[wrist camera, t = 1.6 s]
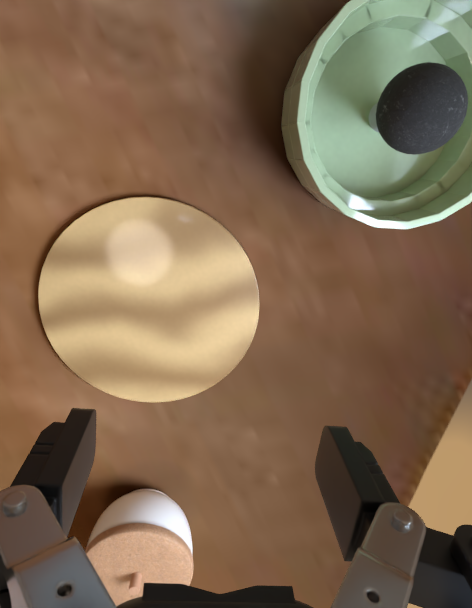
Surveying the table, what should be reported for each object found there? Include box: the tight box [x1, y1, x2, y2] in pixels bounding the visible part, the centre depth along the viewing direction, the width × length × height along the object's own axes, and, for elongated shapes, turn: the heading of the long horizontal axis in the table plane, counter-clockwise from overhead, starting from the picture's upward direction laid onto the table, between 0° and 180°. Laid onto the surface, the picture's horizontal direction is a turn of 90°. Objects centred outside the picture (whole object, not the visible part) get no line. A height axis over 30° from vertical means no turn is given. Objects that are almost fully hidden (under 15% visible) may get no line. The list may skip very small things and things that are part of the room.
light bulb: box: [369, 62, 468, 155], centre depth 31 cm, size 6×6×10 cm
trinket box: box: [85, 489, 193, 606], centre depth 43 cm, size 11×11×9 cm
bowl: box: [281, 0, 472, 229], centre depth 33 cm, size 16×16×6 cm
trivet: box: [38, 196, 259, 402], centre depth 39 cm, size 20×20×1 cm
